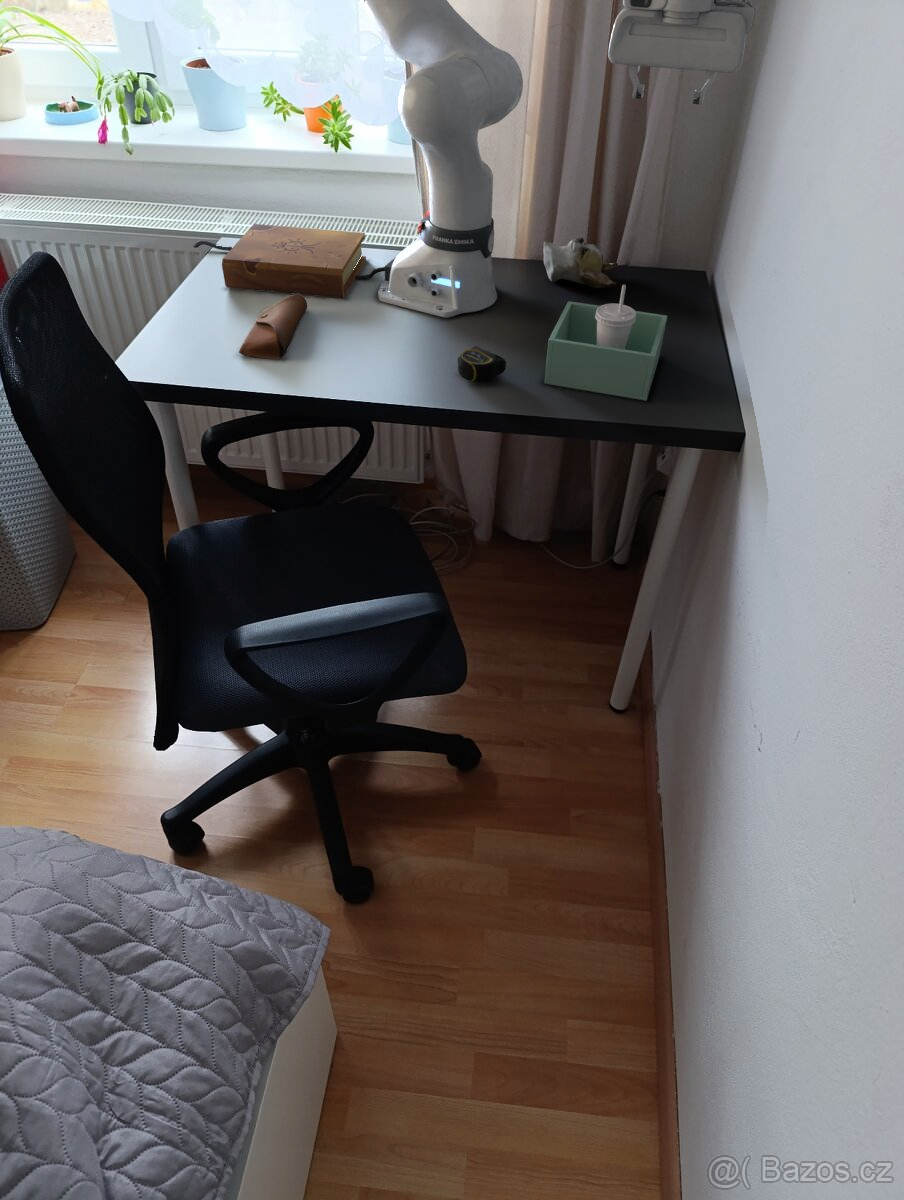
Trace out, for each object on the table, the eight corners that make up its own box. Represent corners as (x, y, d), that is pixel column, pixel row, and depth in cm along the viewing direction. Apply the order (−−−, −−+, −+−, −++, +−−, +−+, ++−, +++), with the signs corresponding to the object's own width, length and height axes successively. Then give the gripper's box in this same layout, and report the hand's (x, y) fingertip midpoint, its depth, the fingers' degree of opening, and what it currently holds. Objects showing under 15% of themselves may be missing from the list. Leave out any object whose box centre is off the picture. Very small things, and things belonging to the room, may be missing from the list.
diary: (226, 290, 159) (220, 260, 155) (257, 252, 172) (253, 223, 168) (343, 300, 156) (340, 269, 152) (366, 260, 170) (364, 231, 166)
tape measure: (507, 376, 136) (508, 355, 134) (479, 392, 133) (480, 370, 130) (477, 362, 140) (477, 341, 137) (448, 376, 136) (448, 355, 134)
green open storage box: (544, 383, 135) (548, 339, 130) (563, 343, 145) (568, 301, 140) (646, 400, 131) (655, 356, 126) (659, 358, 141) (667, 315, 136)
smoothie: (625, 379, 135) (640, 296, 125) (586, 375, 136) (597, 291, 126) (628, 360, 139) (642, 278, 130) (590, 356, 140) (601, 274, 131)
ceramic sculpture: (547, 222, 161) (624, 233, 160) (541, 266, 168) (615, 277, 167) (542, 244, 154) (623, 255, 153) (536, 289, 160) (613, 300, 159)
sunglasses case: (262, 307, 153) (276, 277, 148) (297, 327, 155) (312, 298, 151) (236, 354, 140) (251, 323, 136) (275, 375, 142) (290, 345, 138)
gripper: (759, -6, 122) (736, 101, 131) (620, -15, 126) (607, 90, 136) (757, 1, 117) (733, 112, 127) (613, -8, 122) (600, 99, 131)
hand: (667, 100), depth 131 cm, fingers open, 8 cm apart
